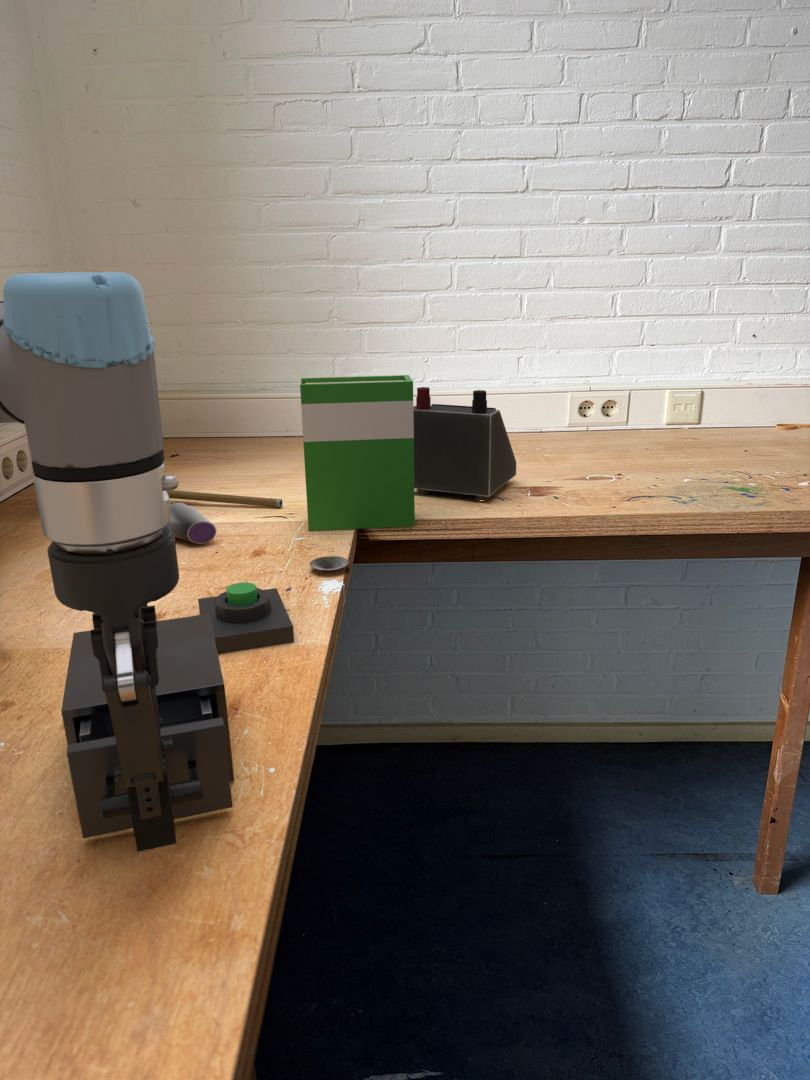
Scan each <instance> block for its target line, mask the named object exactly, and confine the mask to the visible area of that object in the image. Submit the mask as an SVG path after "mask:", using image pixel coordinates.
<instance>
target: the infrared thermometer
mask: <svg viewBox="0 0 810 1080" xmlns="http://www.w3.org/2000/svg"><path fill="white" fill-rule="evenodd" d="M170 510H171V521H170V522H169V524H168V525H167V527H168V528H169V529H170V530H172V531H173V533H174V535H175V538H176V539H180V540H184V541H186V542H189V543H194V544H197V545H203V544H207V543H210V542H211V541H212V540H214V538H215V537H216V535H217V527H216V525H215V524H214V523H213V522H211V520H209V519H208V518H206V517H205V516H204V515H203V514H202V513H200V512H199V511H198V510H197V509H195V508H194V507H192V506H189V505H188V504H185V503H183V502H173V503H170Z"/></svg>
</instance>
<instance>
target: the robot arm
mask: <svg viewBox="0 0 810 1080" xmlns="http://www.w3.org/2000/svg"><path fill="white" fill-rule="evenodd" d="M144 295H145V294H144V290H143V287H142V286H141V284H140V282H139V281H138V280H137V279H136V277H134V276H133V275H132V274H129V273H127V272H123V271H102V272H101V271H62V272H61V271H60V272H30V273H29V272H28V273H18V274H15V275H14V274H13V275H11V276H9V278H7V279H6V280H5V283H4V284H3V289H2V298H3V300H0V424H6V423H7V424H9V423H18V424H21V425H24V427H25V428H24V429H25V433H26V438H27V443H28V444H27V445H28V449H29V453H30V459H31V468H32V478H33V484H34V490H35V495H36V501H37V506H38V512H39V513H38V514H39V516H40V517H39V519H40V525H41V528H42V535H43V536H44V537H45V538H46V539H48V540H49V541H50V545H49V546H48V548H47V557H48V562H49V563H48V564H49V567H50V573H51V574H50V575H51V579H52V585H53V590H54V595H55V597H56V599H57V600H58V602H60V604H62V605H63V606H65V607H67V608H69V609H72V610H75V611H79V612H83V611H85V612H89V613H90V612H91V613H92V615H91V617H92V626H93V629H90V630H91V643H92V649H93V654H94V656H95V657H96V658H97V659H98V660H99V665H100V671H101V677H102V691H104V693H105V696H106V699H107V703H108V706H109V709H110V714H111V720H112V725H113V730H114V735H115V740H116V745H117V750H118V755H119V760H120V765H121V767H118V768H114V781H115V782H119V781H122V783H124V786H125V788H127V792H128V798H129V804H130V811H131V817H132V823H133V828H132V830H133V835H134V841H135V848H136V852H137V853H140V852H145V851H149V850H154V849H159V848H163V847H168V846H172V845H177V834H176V832H177V831H176V824H175V820H174V816H173V809H172V801H171V794H170V787H169V779H168V772H167V765H166V758H165V756H162V752H164V751H170V750H173V740H172V737H169V738H163V739H161V733H160V731H161V726H162V719H160V718H159V711H158V703H157V695H156V687H155V686H157V685H158V683H159V673H158V657H157V648H158V634H157V621H158V619H157V612H156V606H155V604H154V605H148V604H149V603H151V602H157V601H158V600H161V599H162V598H164V597H166V596H168V595H169V594H170V593H171V592H172V591H174V589H175V588H177V585H178V583H179V581H180V569H179V563H178V553H177V544H176V537H175V535H174V533H173V531H172V530H170V529H169V528H168V527H167V525H168V524H169V522H170V521H171V510H170V504H171V503H170V498H169V496H168V494H167V492H166V491H170V490H177V489H178V487H179V480H178V478H177V476H176V474H166V475H165V473H166V465H165V452H164V449H165V448H164V437H163V429H162V418H161V410H160V399H159V390H158V388H159V387H158V379H157V370H156V369H157V368H156V361H155V359H156V358H155V351H154V350H155V339H154V336H153V333H152V330H151V329H150V326H149V320H148V312H147V307H146V301H145V296H144Z"/></svg>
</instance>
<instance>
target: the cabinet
mask: <svg viewBox="0 0 810 1080" xmlns="http://www.w3.org/2000/svg"><path fill="white" fill-rule="evenodd" d="M91 630H92V629H90V630H85V631H77V632H73V634H72V641H71V647H70V653H69V659H68V665H67V671H66V678H65V685H64V691H63V698H62V703H61V710H60V712H61V717H62V723H63V728H64V734H65V739H66V744H67V746H68V745H69V744H75V743H80V737H79V734H80V725H81V716H86V715H92V714H98V713H104V712H110V709H109V706H108V703H107V699H106V696H105V693H104V691H102V677H101V671H100V665H99V660H98V659H97V658H96V657H95V656H94V654H93V649H92V643H91ZM157 634H158V648H157V657H158V673H159V683H158V685H157V686H155V687H156V695H157V703H163V702H169V701H174V700H180V699H186V698H192V697H198V696H204V695H209V698H210V704H211V710H212V717H213V719H215V718H221V717H222V718H223V724H224V732H225V741H226V750H227V759H228V769H229V778H230V783H231V782H234V781H235V774H234V763H233V754H232V744H231V735H230V726H229V725H230V724H229V716H228V715H229V714H228V708H227V707H228V706H227V697H226V687H225V686H226V685H225V682H224V677H223V672H222V666H221V662H220V658H219V654H218V653H217V648H216V643H215V639H214V634H213V629H212V625H211V620H210V615H209V614H204V615H200V614H196V615H191V616H184V617H175V618H169V619H162V620H157Z"/></svg>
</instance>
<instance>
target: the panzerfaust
mask: <svg viewBox="0 0 810 1080" xmlns="http://www.w3.org/2000/svg"><path fill="white" fill-rule="evenodd" d="M166 492H167V494H168V496H169V499H172V500H185V501H198V502H210V503H223V504H233V505H244V506H245V505H246V506H259V507H270V508H277V509H281V508H283V499H282V498H271V497H258V496H246V495H237V494H235V495H234V494H221V493H212V492H211V493H210V492H199V491H198V492H197V491H186V490H176V489H174V490H170V491H166Z"/></svg>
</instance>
